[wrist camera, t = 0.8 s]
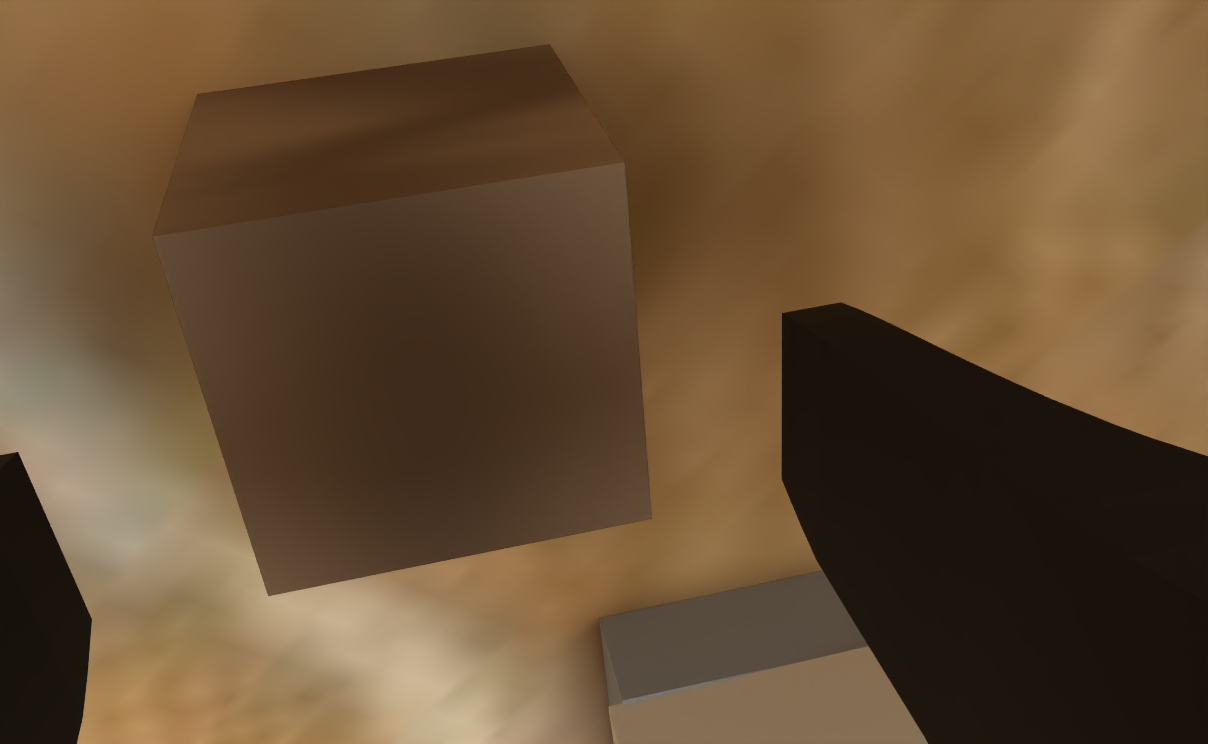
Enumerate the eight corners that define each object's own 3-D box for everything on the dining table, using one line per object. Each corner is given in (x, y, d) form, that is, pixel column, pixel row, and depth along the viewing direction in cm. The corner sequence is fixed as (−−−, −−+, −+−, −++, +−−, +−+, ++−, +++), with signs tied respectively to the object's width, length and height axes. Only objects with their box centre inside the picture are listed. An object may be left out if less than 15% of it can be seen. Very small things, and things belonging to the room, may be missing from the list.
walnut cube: (548, 43, 15) (624, 162, 11) (580, 337, 17) (651, 518, 13) (198, 91, 14) (152, 237, 10) (281, 391, 17) (267, 595, 13)
